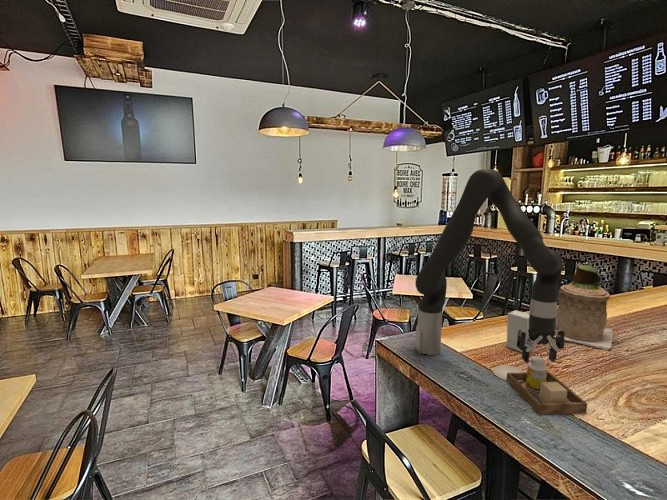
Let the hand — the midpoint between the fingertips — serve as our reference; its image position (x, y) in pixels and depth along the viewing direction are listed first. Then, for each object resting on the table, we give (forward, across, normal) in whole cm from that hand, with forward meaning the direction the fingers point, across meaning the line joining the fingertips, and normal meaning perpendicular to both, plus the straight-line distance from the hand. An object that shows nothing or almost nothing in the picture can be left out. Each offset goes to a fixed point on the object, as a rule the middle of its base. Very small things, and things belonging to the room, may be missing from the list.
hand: (538, 360), depth 122 cm
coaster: (+10, -4, +9) cm, 14 cm away
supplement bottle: (+10, 0, 0) cm, 10 cm away
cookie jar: (+10, +43, +41) cm, 61 cm away
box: (+10, 0, -9) cm, 13 cm away
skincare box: (+10, +10, +29) cm, 32 cm away
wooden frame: (+10, 0, -4) cm, 11 cm away
